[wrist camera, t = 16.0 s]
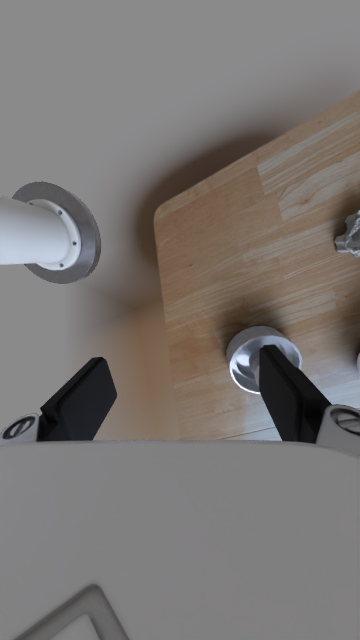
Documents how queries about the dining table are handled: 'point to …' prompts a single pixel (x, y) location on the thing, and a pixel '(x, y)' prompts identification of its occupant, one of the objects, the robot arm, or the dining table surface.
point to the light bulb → (255, 365)
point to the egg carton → (350, 236)
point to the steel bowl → (251, 343)
